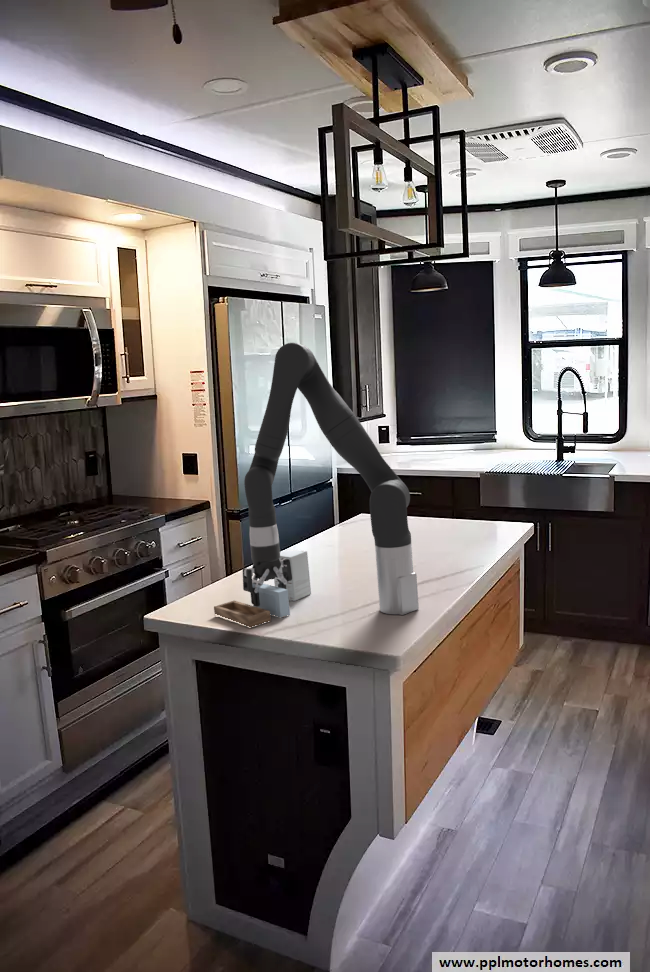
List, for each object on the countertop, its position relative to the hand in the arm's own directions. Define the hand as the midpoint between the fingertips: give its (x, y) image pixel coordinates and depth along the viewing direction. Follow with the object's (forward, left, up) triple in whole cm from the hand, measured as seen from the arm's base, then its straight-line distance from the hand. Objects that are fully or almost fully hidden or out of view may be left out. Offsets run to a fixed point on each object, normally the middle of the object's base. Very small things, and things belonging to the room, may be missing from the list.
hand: (269, 601), depth 211 cm
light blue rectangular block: (0, 0, -3) cm, 3 cm away
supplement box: (+7, -13, -3) cm, 15 cm away
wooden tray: (+2, +8, -3) cm, 9 cm away
